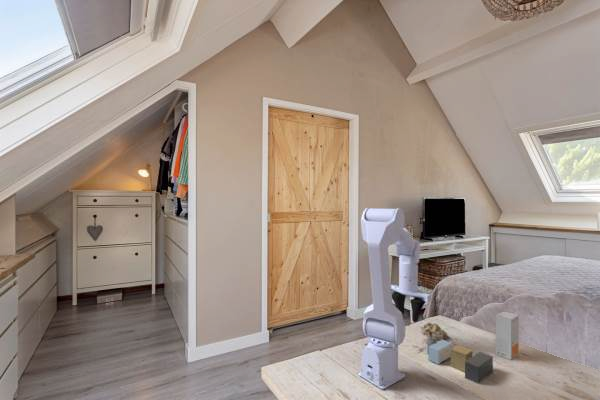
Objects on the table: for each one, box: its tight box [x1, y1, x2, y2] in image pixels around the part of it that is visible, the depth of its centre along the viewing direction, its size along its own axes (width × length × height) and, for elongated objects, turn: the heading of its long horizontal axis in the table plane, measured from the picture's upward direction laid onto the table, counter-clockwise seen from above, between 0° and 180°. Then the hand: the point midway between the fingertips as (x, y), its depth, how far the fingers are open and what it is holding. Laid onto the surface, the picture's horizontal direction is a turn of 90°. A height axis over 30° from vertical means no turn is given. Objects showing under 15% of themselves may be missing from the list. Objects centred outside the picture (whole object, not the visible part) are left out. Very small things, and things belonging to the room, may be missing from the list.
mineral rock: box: [421, 322, 449, 341], centre depth 105 cm, size 11×4×8 cm
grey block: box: [464, 351, 494, 384], centre depth 80 cm, size 9×3×4 cm, turn 127°
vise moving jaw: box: [427, 337, 454, 365], centre depth 89 cm, size 8×6×4 cm
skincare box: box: [495, 311, 520, 360], centre depth 91 cm, size 6×4×12 cm
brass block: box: [450, 344, 474, 374], centre depth 83 cm, size 4×4×5 cm
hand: (408, 318), depth 97 cm, fingers open, 5 cm apart
